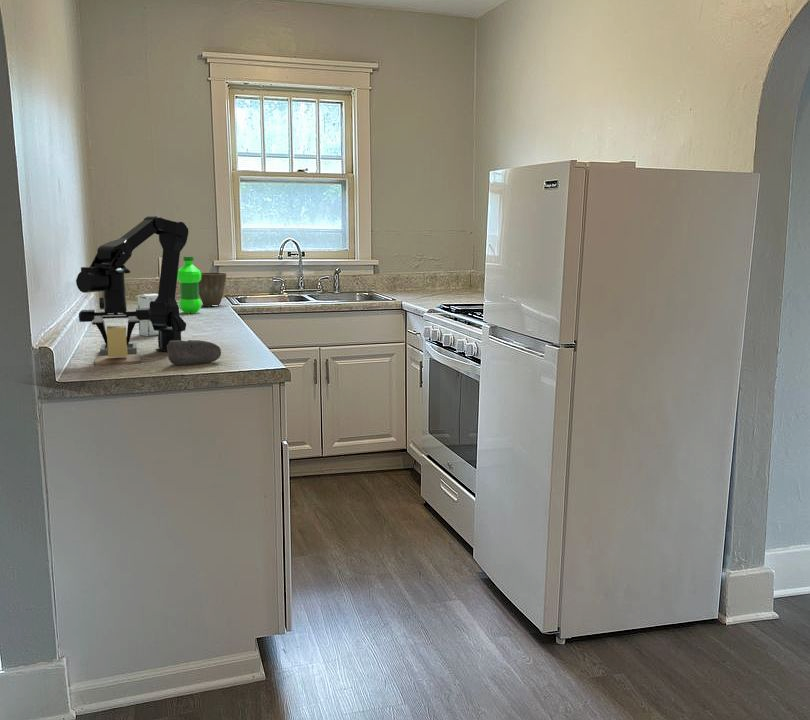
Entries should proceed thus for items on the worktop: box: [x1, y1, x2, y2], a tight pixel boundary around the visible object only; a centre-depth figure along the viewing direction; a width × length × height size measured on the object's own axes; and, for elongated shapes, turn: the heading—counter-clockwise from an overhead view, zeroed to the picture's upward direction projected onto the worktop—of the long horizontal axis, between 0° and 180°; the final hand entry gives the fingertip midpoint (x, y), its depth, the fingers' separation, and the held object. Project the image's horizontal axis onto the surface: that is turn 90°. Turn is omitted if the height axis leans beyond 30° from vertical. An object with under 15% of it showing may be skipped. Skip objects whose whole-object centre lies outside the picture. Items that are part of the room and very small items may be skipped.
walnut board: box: [93, 353, 142, 366], centre depth 210 cm, size 12×12×1 cm
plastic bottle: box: [177, 256, 203, 314], centre depth 328 cm, size 10×10×25 cm
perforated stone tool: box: [166, 339, 222, 366], centre depth 206 cm, size 15×5×7 cm, turn 114°
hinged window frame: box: [99, 342, 138, 356], centre depth 227 cm, size 10×20×2 cm, turn 20°
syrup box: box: [137, 293, 159, 337], centre depth 259 cm, size 6×6×14 cm
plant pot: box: [199, 272, 227, 307], centre depth 359 cm, size 15×15×16 cm
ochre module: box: [106, 325, 127, 357], centre depth 209 cm, size 5×5×8 cm
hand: (117, 345), depth 209 cm, fingers closed on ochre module, 5 cm apart
